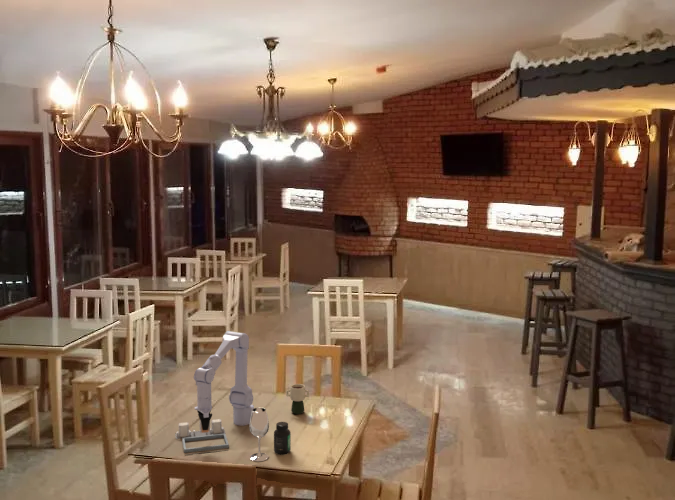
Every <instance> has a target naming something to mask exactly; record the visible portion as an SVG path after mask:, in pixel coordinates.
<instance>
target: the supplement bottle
mask: <svg viewBox="0 0 675 500" xmlns="http://www.w3.org/2000/svg"><path fill="white" fill-rule="evenodd" d="M275 424H276V425H275V430H274V431H273V452H274V454H276V455H279V456H284V455H288V454H290V452H291V447H292V446H291V443H292V442H291V439H292V438H291V435H292V434H291V430H290V429H289V423H288V422H287V421H278V422H277V423H275Z"/></svg>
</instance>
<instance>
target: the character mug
mask: <svg viewBox="0 0 675 500" xmlns="http://www.w3.org/2000/svg"><path fill="white" fill-rule="evenodd" d="M289 392H290V393H289ZM285 393H286V397H290V400H291V401H292V403H291V408H290V409H291V410H290V411H291V413H292V414H295V415H299V414H300V415H301V414H303V413H304V412H305V404H304V400H306V399H305V398H306V397H307V398H309V397H310V390H309V389H306V385H305V384H302V383H295V384H292V385H290V387H289V389H286V391H285Z"/></svg>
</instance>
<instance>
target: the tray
mask: <svg viewBox="0 0 675 500" xmlns="http://www.w3.org/2000/svg"><path fill="white" fill-rule="evenodd" d="M220 438H221V439H223V440H224V444H223V443H222V444H217V445H215V444H214V445H207V446H198V447H197V446H196V447H186V442H195V441H204V440H212V439H220ZM181 439H182V441H181V442H182V448H183V454H185V453H187V454H186V456H193V455H194V452H199V453H195V455H200V454H201V455H202V454H203V452H204V454H209V453H210V454H211V453H212V450H213V453H218V452H219V453H220V452H221V449H225V450H222V452H226V451H227V452H228V451H229V448H230V445H229V441H228V438H227V434H216V435H206V436H197V437H187V438H181ZM214 450H216V451H214ZM217 450H218V451H217ZM205 451H206V452H205ZM207 451H208V452H207Z"/></svg>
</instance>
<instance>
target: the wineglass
mask: <svg viewBox="0 0 675 500" xmlns="http://www.w3.org/2000/svg"><path fill="white" fill-rule="evenodd" d="M248 425H249V427H248V428H249V432H250V434H251V435H252V436H253V437H254V438H257V441H258V442H257V443H258V452H257V453H252V454H251V455H250V456H249V459H250V460H251V461H252V462H264V461H267V460H269V458H270V456H269V454H267V453H264V452H261V439H262V438H263V437H264V436H266V435H267V434H268V432H269V430H270V423H269V417H268V412H267V408H264V407H260V406H259V407H254V409H252V413H251V418H250V424H248Z"/></svg>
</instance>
